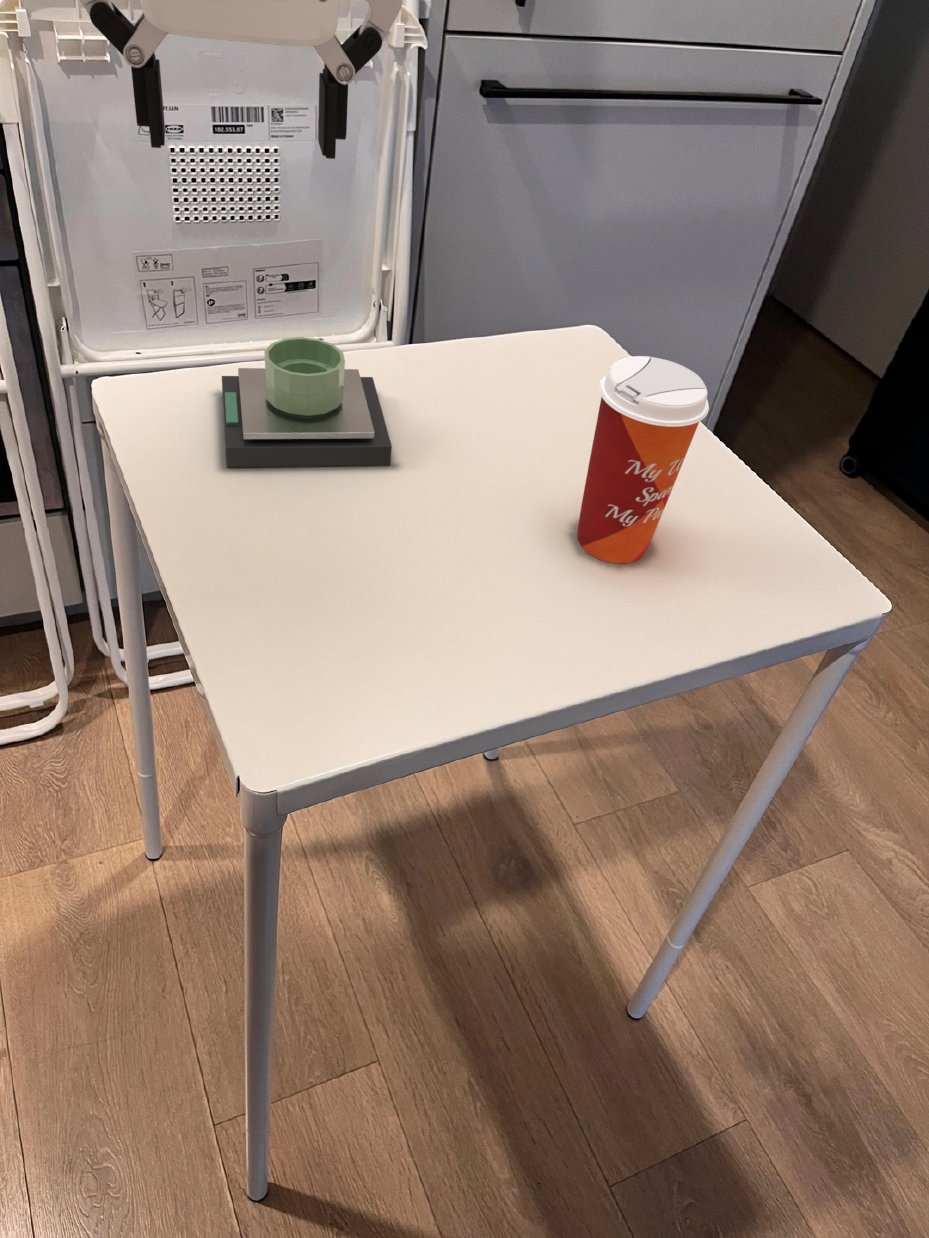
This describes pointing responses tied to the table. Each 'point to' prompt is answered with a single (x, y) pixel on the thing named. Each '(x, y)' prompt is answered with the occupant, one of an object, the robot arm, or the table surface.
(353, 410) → the platform
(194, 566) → the table surface
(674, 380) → the coffee cup
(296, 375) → the bowl
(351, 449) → the scale base
